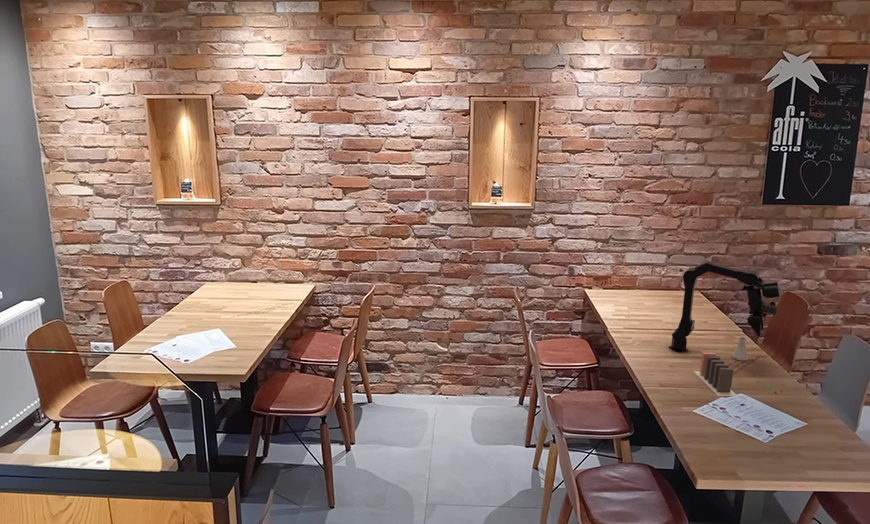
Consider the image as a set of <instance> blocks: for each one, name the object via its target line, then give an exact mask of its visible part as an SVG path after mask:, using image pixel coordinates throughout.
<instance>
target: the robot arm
mask: <svg viewBox="0 0 870 524" xmlns="http://www.w3.org/2000/svg"><path fill="white" fill-rule="evenodd" d="M708 272H709V273H712V274H713V273H714V274H717V275H721V276H724V277H728V278H732V279H735V280H737V281H739V282H740V283H742V284H743V286H742V287H741V289H740V290H741V291H742V292H744V291H745V292H746V299H747V306H748V309H749V312H748V317H746V321H747V324H748V325H749V326H750V327H751V329H752V330H753V331H754V332H755V334H756V336H757V337H761V334H762V333H761V332H762V331H763V330H764V323H765V317H766V316H767V315H768V314H771V315H772V316H776V315H777V313H778V309H779V305H777V304H776V301H773V300H771V301H770V302H767V303H766V302H765V300H764V299H763V298H762V297H764V298H765V299H773V298H781V293H782V292H781V287H780V285H779V282H778V281H772V282H766V281H765V280H763V278H761V277H760V274H759V272H758V271H756V270H753V269H737V268H734V267H730V266H726V265H723V264H718V263H715V262H711V261H706V262H704V263H702V264H700V265H697V266H695V267H690V268H688V269H686V270H685V272H684V273H683V275H682V279H683V286H684V294H683V295H684V296H683V304H682V313H681V318H680V321H679V323H678V326H677V328H676V329H675V330H674V331H673V332H672V334H671V337H672V338H671V344H670V345H671V346H668V348H669V349H670V350H672V351H675V352H676V353H681V352H688V351H689V349H688V348H687V345H688V344H687V343H688V338H687V337H688V336H690V334H691V333H692V332H693V331H694V330H695V322H696V320H693V318H692V313H693V312H692V311H693V304H694V303H693V302H694V295H695V288H696V285H697V282H698V280H699V277H701V276H702V275H704V274H706V273H708Z"/></svg>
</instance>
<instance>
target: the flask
mask: <svg viewBox="0 0 870 524" xmlns="http://www.w3.org/2000/svg"><path fill="white" fill-rule="evenodd" d="M738 339H739V341H738V344H737V346H736V348H735V350H734V351H733V353H732V355H731V358H732V359H734V360H735V361H736V360H737V361H743V362H744V361H746V362H747V361H748V360H749V355H748V352H747V348H746V341H747V337H745V336H739V337H738Z"/></svg>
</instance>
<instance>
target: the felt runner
mask: <svg viewBox="0 0 870 524" xmlns="http://www.w3.org/2000/svg"><path fill="white" fill-rule="evenodd" d="M693 373H694V374H695V375H696V376H697V377H698V378H699V379H701V381H702V382H703V383H705V385H707V387H708V388H709V389H711V390H712V392H713V393H714V394H715V395H716V396H718V397H738V395H737V394H736V393H735V392H734V391H733V390H732V389H731V391H730V392H717V391H716V389H717V388H713V387H712V384H709V383H708V380H705V379H704V376H701V375H700V370H699V371H698V370H697V371H695V370H694V371H693Z"/></svg>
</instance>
